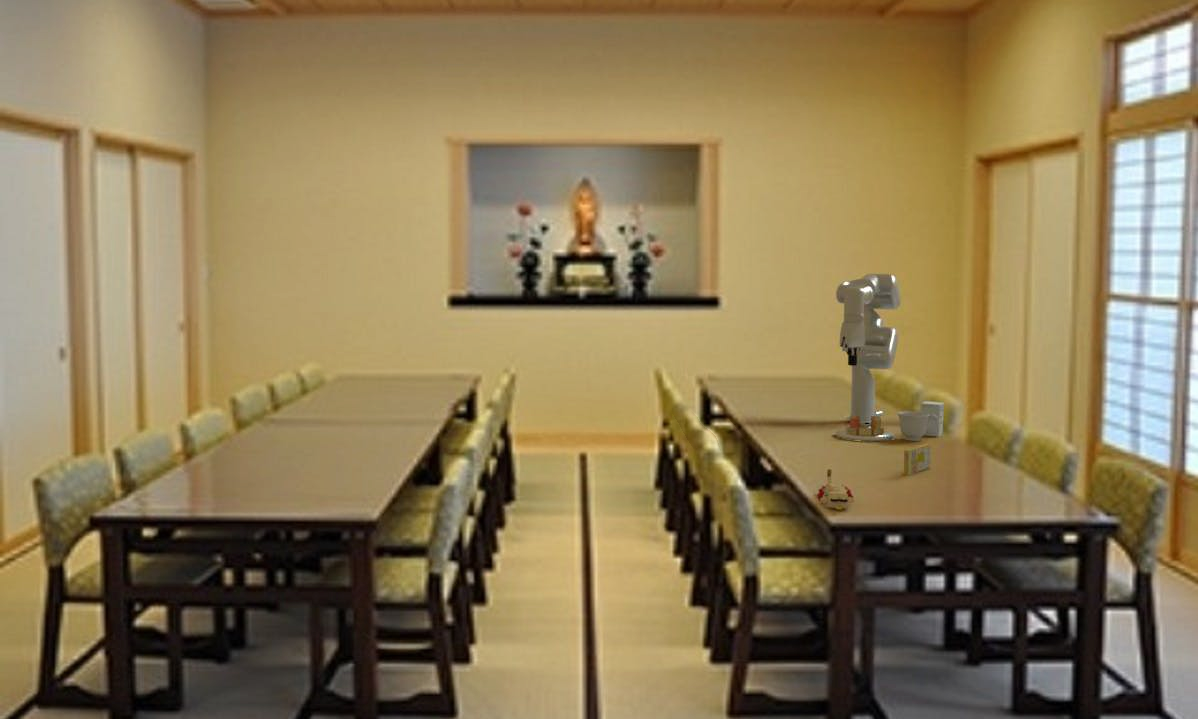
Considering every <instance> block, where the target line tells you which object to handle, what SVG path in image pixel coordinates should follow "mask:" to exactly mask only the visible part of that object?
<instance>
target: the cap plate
mask: <svg viewBox="0 0 1198 719" xmlns="http://www.w3.org/2000/svg"><path fill="white" fill-rule="evenodd" d="M859 428H871V426H865V425H861V426H860V427H859ZM835 435H836V436H837V437H840V438H845V439H851V440H861V441H860V442H862V441H884V442H887V441H886V440H891V441H893V440H892V439H894V438H895V436H896V434H895V433H893V432H892V431H887V430H884V434H883V435H876V436H873V435H871V436H865V435H854V434H849V433H846V428H842V429H838V430H836V431H835ZM836 436H835V437H836ZM837 437H836V438H837ZM840 438H839V439H840ZM845 439H844V440H845ZM851 440H850V441H851ZM894 440H895V439H894Z"/></svg>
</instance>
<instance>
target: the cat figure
mask: <svg viewBox="0 0 1198 719" xmlns="http://www.w3.org/2000/svg"><path fill="white" fill-rule="evenodd" d="M826 474H827V475H826V477H827V478H826V479H827V480H826V481H827V484H825V485H824V484H821V485H820V488H818V494H816V498H817V499H818V502H820V503H822V504H824V505H825V507H828V508H831V509H832V508H834V509H835V510H843V509H845V508H850V505H851V504H854V503H855V499H854V496H853V493H851V492H852V491H851V489H850V488H848V486H845V485H844V484H841V486H842V487H844V490H846V492H845V491H841V489H840V488H839V487H838V486H837V485H836V484H835V483H832V469H831V468H830V469H827V472H826ZM824 495H827V496H824ZM826 503H827V504H826ZM849 504H850V505H849Z"/></svg>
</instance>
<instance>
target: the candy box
mask: <svg viewBox="0 0 1198 719" xmlns="http://www.w3.org/2000/svg"><path fill="white" fill-rule="evenodd" d="M928 468H930V469H931V443H925V444H924V443H923V444H921V445H918V446H914V447H910V448H907V449H904V450H903V475H904V474H907V475H906V476H911V475H910V474H912V475H914V474H913V473H915V474H917V473H916V472H918V473H920V472H919V471H921V472H923V471H922V470H924V471H926V470H925V469H927V470H929V469H928Z"/></svg>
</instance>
